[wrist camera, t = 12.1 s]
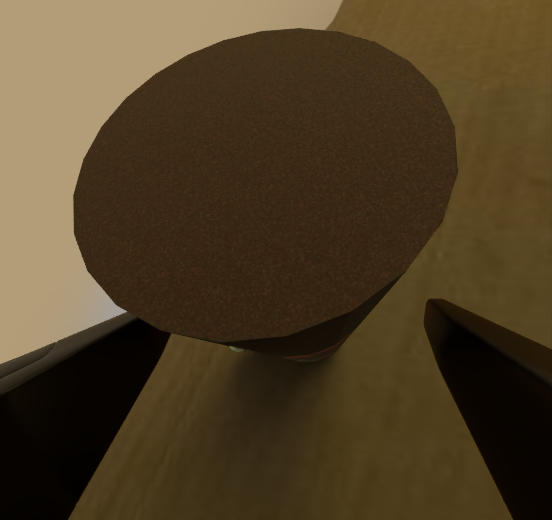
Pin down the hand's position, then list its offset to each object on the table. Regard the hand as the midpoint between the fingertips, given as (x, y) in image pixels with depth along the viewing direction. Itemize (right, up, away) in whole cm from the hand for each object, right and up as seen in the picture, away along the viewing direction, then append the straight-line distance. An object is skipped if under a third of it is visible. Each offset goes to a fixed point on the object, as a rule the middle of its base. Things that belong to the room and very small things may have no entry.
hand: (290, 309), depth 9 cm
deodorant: (+2, -2, +9) cm, 9 cm away
